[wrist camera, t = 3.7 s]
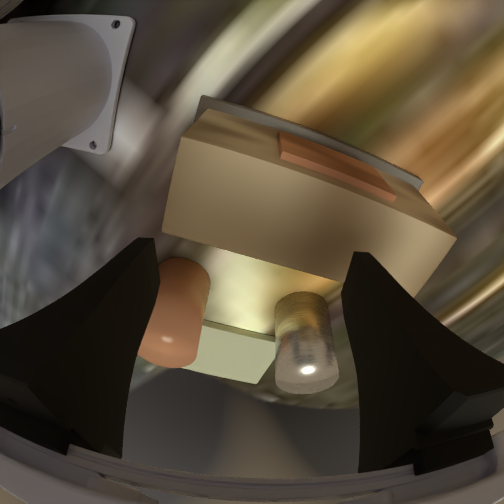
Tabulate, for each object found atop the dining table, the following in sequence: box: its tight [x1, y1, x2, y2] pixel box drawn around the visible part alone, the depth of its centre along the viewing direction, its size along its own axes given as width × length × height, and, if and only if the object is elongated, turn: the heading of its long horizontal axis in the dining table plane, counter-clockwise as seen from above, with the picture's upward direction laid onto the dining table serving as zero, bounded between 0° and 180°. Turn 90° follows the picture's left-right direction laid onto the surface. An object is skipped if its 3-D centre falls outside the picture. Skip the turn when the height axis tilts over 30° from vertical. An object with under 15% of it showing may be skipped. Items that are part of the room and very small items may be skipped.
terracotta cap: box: [137, 258, 210, 368], centre depth 19 cm, size 4×4×6 cm
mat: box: [181, 320, 275, 384], centre depth 26 cm, size 10×7×1 cm
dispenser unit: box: [161, 95, 457, 298], centre depth 14 cm, size 13×5×6 cm, turn 72°
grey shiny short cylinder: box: [275, 292, 339, 394], centre depth 21 cm, size 4×4×6 cm
